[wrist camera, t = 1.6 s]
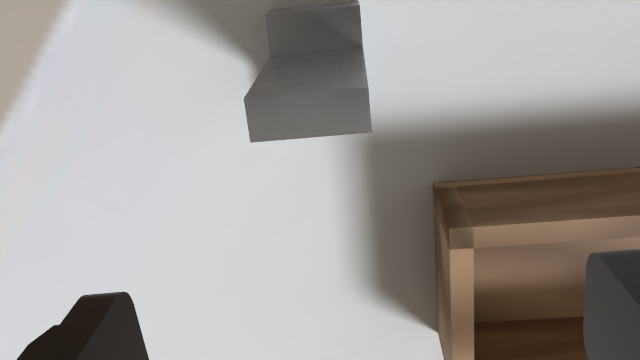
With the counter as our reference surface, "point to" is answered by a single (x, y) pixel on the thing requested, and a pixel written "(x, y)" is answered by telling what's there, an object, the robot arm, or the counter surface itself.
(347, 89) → the bracket
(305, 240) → the counter surface
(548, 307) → the open wooden box
